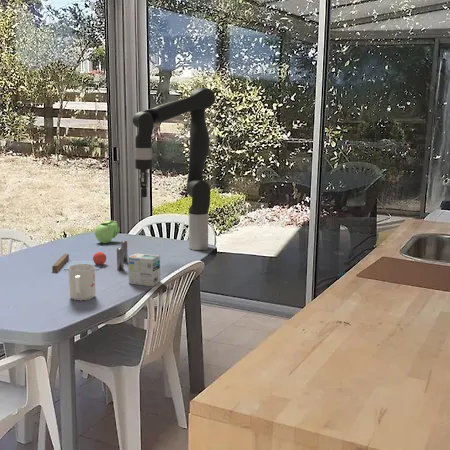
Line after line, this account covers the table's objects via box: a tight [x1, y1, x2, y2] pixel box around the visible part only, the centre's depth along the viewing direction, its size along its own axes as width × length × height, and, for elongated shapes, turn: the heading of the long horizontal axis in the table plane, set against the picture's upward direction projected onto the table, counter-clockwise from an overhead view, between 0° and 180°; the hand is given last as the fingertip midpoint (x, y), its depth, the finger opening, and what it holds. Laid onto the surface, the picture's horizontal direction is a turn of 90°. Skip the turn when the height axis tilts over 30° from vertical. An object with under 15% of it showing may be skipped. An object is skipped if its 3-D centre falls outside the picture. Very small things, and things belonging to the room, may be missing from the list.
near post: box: [116, 247, 125, 271], centre depth 237 cm, size 3×3×9 cm
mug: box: [68, 264, 97, 302], centre depth 199 cm, size 12×9×11 cm
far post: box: [120, 240, 129, 263], centre depth 249 cm, size 3×3×9 cm
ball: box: [92, 251, 107, 266], centre depth 244 cm, size 6×6×6 cm
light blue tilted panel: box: [63, 260, 102, 271], centre depth 243 cm, size 14×14×1 cm
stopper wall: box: [51, 253, 70, 273], centre depth 243 cm, size 2×20×2 cm, turn 2°
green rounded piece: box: [94, 219, 120, 244], centre depth 284 cm, size 12×11×11 cm
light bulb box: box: [127, 252, 162, 287], centre depth 219 cm, size 11×7×11 cm, turn 71°
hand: (144, 197), depth 255 cm, fingers closed
